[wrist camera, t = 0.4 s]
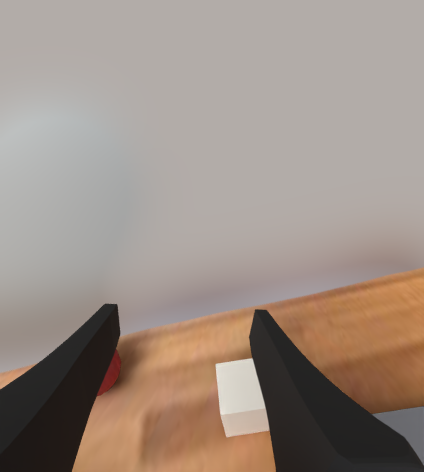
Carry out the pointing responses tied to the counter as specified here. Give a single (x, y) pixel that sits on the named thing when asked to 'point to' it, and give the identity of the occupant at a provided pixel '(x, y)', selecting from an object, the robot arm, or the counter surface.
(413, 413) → the riser block
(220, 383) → the cream block
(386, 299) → the counter surface
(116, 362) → the onion
